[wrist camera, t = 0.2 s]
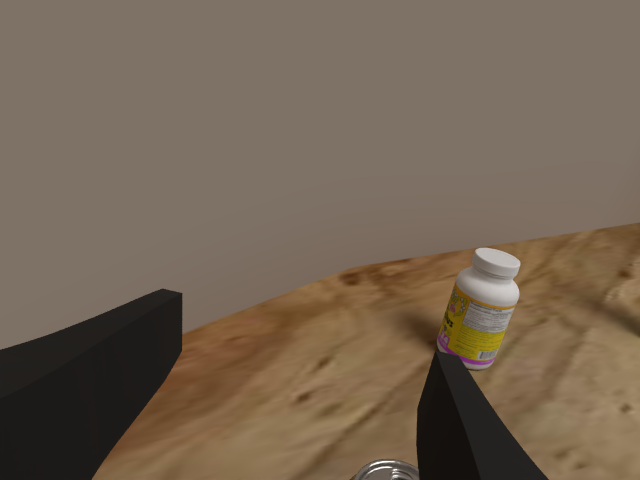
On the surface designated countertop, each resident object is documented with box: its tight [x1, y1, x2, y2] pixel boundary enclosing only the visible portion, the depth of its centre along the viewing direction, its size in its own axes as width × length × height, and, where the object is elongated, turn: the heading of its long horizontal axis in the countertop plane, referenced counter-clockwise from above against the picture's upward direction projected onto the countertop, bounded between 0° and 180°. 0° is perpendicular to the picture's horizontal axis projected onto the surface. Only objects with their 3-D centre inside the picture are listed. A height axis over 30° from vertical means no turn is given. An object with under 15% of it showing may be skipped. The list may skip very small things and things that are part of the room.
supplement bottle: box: [437, 248, 520, 370], centre depth 47 cm, size 7×7×13 cm
